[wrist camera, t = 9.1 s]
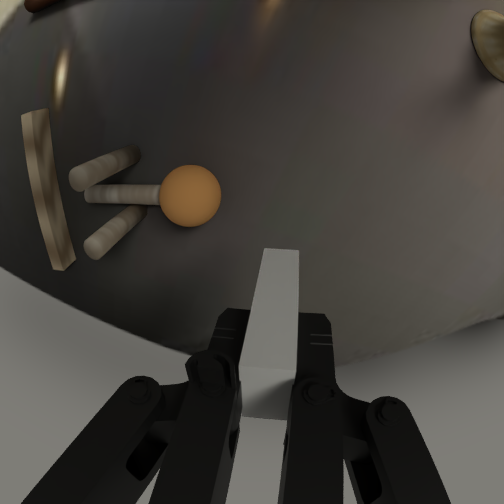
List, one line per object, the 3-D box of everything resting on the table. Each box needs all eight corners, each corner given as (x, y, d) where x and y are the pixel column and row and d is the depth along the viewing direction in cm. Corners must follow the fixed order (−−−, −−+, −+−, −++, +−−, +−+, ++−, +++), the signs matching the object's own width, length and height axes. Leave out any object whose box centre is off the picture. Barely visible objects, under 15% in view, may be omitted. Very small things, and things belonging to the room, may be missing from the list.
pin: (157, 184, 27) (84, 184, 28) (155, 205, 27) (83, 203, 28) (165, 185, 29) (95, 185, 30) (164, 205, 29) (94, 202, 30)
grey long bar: (38, 111, 26) (21, 115, 23) (48, 107, 25) (31, 111, 23) (66, 258, 35) (53, 269, 33) (76, 259, 35) (63, 270, 32)
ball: (182, 176, 21) (230, 159, 25) (142, 172, 24) (188, 157, 28) (193, 243, 24) (236, 218, 28) (153, 229, 27) (195, 209, 31)
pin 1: (123, 145, 27) (66, 168, 19) (139, 144, 27) (85, 165, 19) (125, 164, 28) (71, 192, 20) (141, 163, 28) (89, 191, 20)
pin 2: (129, 200, 30) (81, 238, 22) (146, 200, 30) (99, 238, 22) (132, 218, 31) (86, 258, 23) (148, 218, 31) (104, 260, 23)
